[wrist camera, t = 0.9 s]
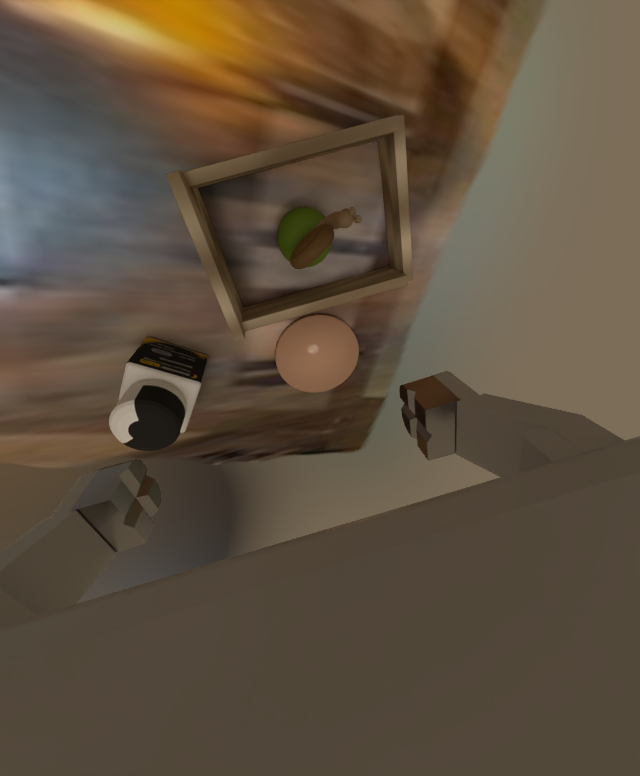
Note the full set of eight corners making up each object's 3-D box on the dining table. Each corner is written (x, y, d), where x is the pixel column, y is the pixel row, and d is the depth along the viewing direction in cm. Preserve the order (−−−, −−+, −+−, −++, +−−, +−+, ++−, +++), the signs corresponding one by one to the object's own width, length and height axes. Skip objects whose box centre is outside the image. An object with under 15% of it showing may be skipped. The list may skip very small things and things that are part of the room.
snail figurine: (342, 228, 33) (381, 241, 23) (301, 272, 35) (320, 302, 25) (307, 184, 31) (334, 178, 21) (265, 234, 32) (270, 251, 22)
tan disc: (263, 327, 38) (264, 330, 37) (349, 303, 38) (351, 305, 37) (288, 398, 44) (289, 401, 43) (362, 376, 44) (364, 379, 43)
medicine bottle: (209, 355, 38) (193, 411, 28) (194, 400, 41) (175, 466, 31) (146, 335, 35) (104, 389, 25) (135, 384, 38) (93, 451, 28)
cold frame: (183, 178, 29) (165, 174, 23) (386, 123, 29) (420, 105, 23) (238, 318, 36) (235, 341, 30) (398, 272, 37) (425, 286, 31)
